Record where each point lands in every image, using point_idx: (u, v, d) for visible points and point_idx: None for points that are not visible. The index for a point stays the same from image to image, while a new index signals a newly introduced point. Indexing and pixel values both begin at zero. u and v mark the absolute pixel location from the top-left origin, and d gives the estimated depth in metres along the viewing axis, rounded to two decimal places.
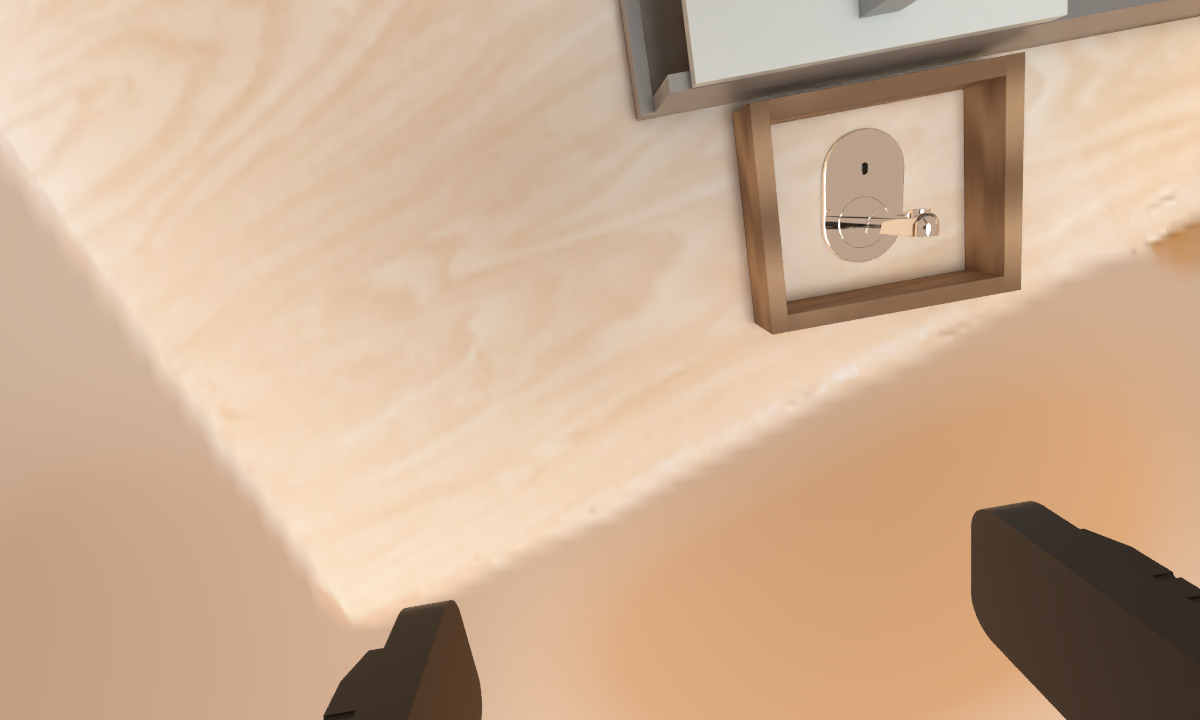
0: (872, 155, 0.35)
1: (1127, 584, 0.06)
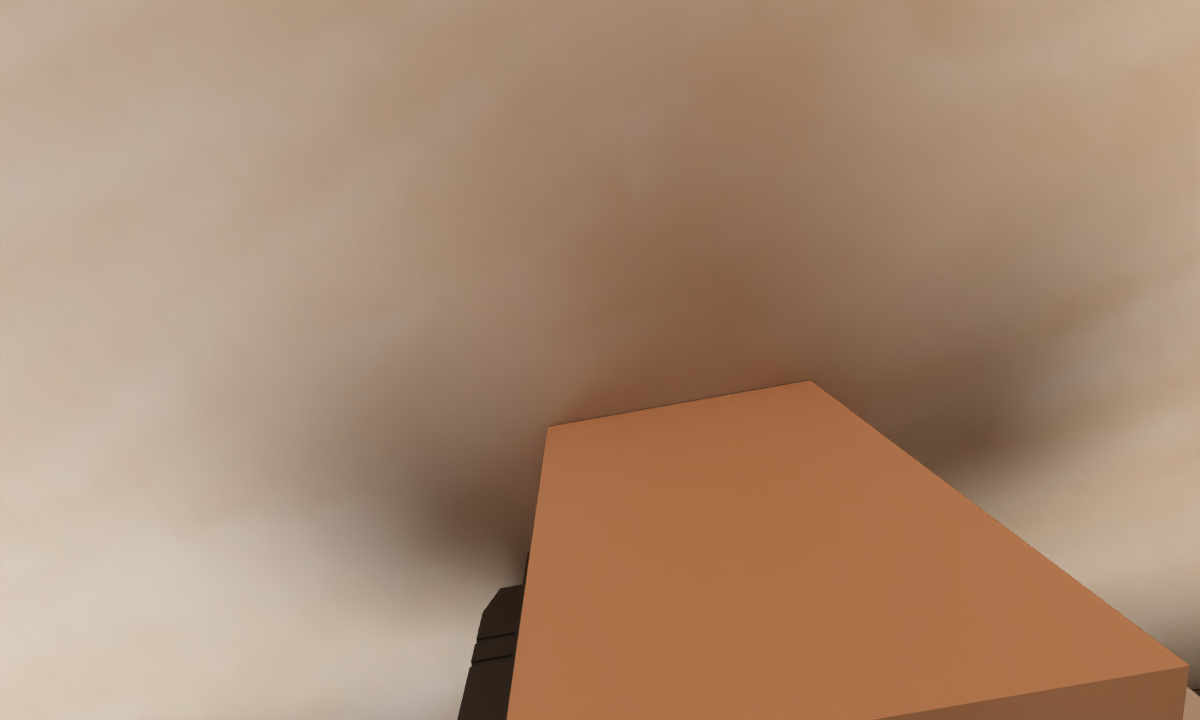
0: None
1: None
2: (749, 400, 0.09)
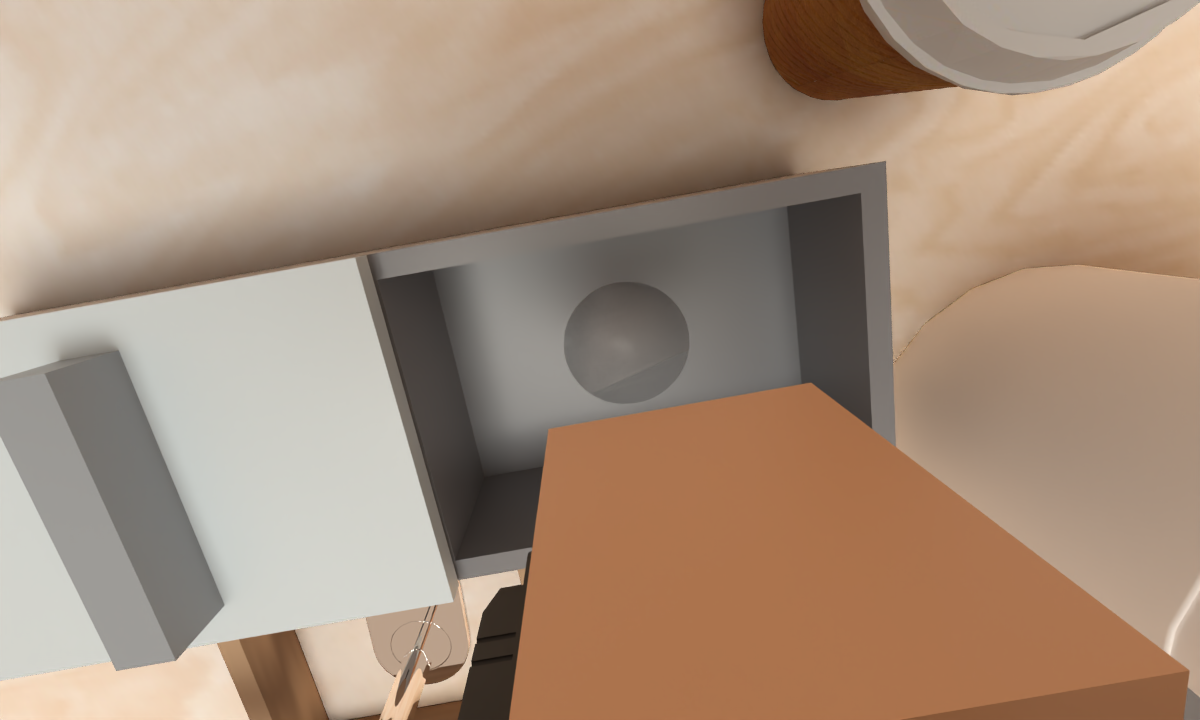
0: None
1: None
2: (748, 402, 0.09)
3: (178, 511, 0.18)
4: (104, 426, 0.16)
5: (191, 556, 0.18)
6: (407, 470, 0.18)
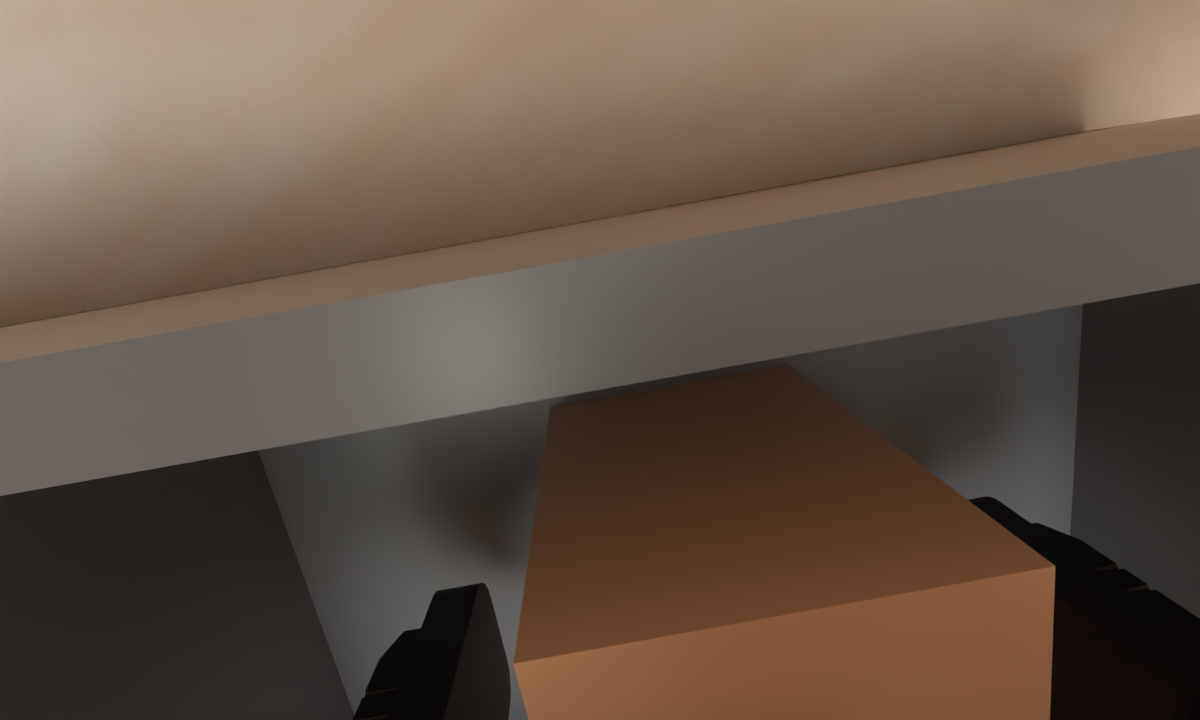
0: None
1: (1068, 574, 0.07)
2: (731, 381, 0.10)
3: None
4: None
5: None
6: None
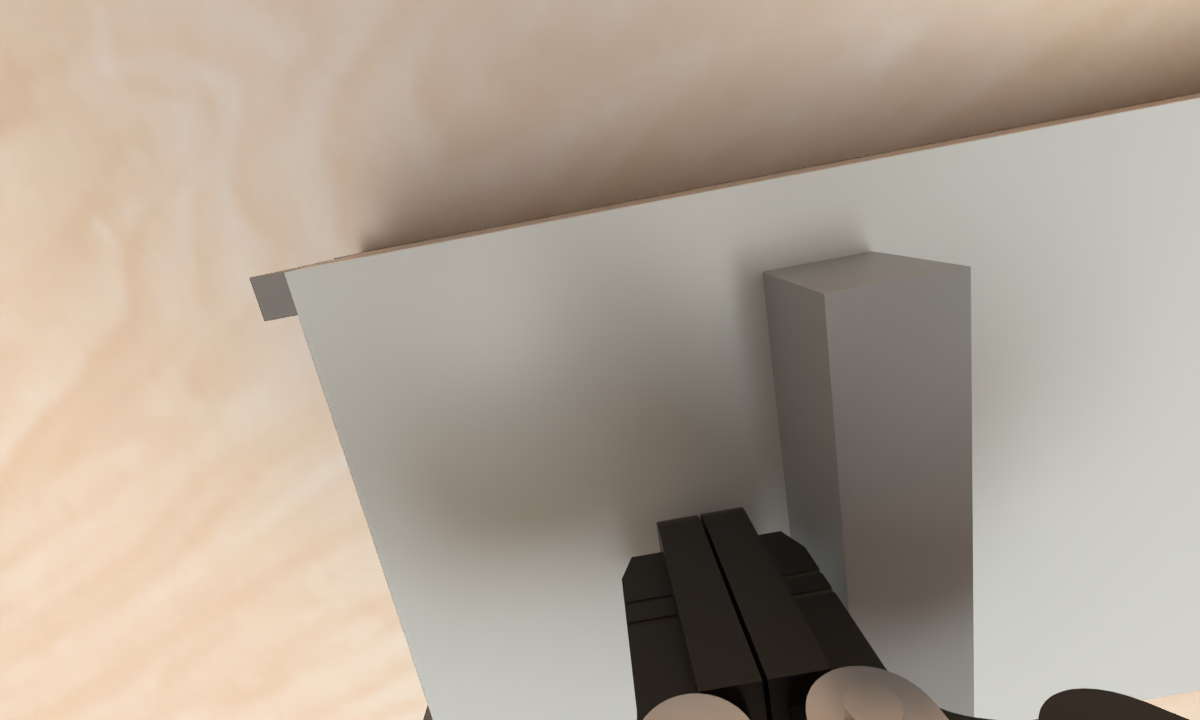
0: None
1: (754, 578, 0.07)
2: None
3: None
4: None
5: None
6: None
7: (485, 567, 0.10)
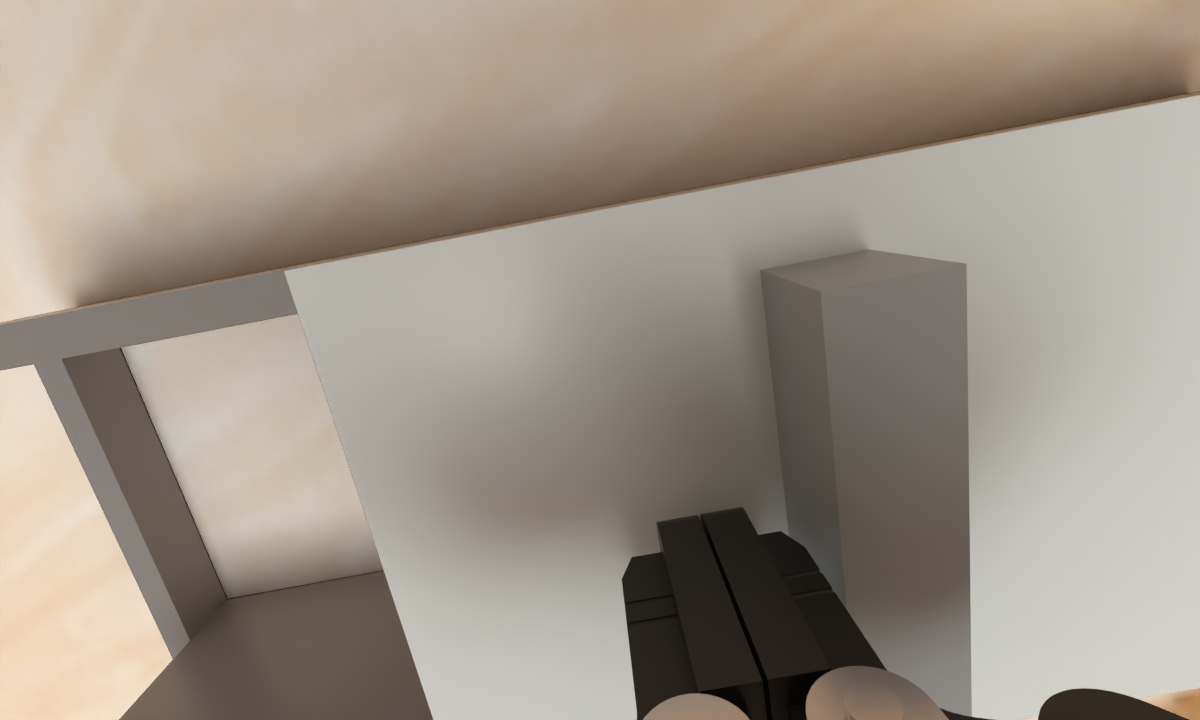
0: None
1: (755, 579, 0.07)
2: None
3: None
4: None
5: None
6: None
7: (484, 565, 0.10)
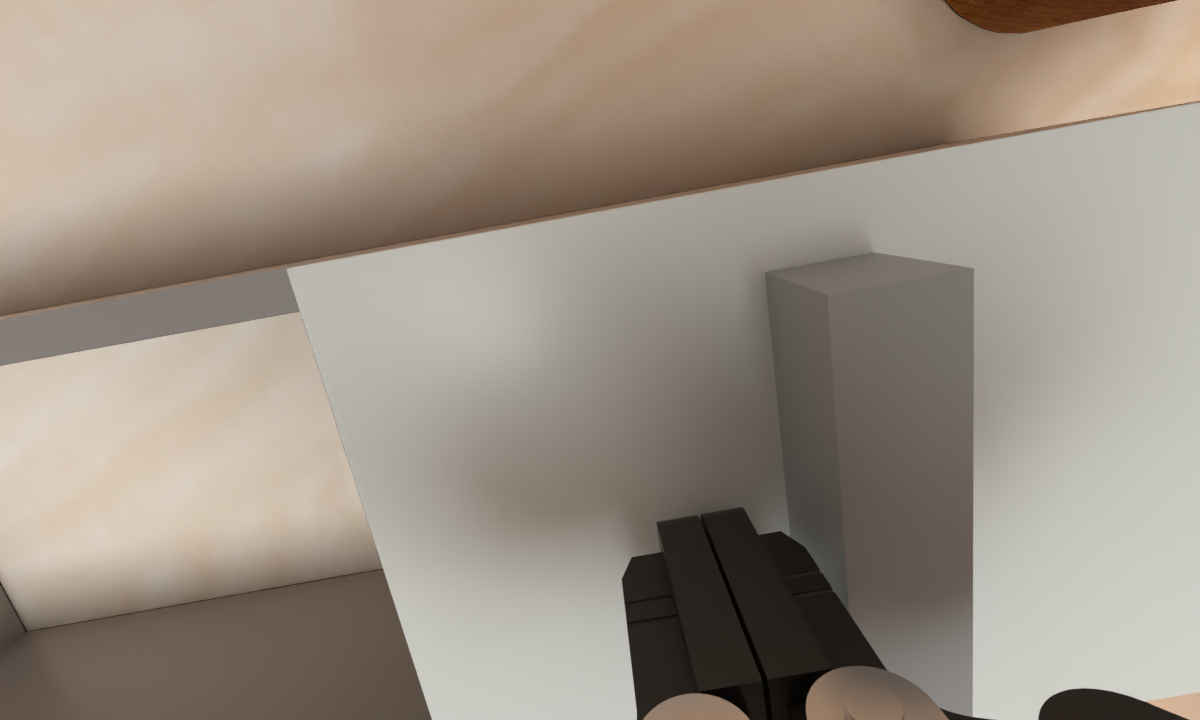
0: None
1: (755, 578, 0.07)
2: None
3: None
4: None
5: None
6: None
7: (485, 565, 0.10)
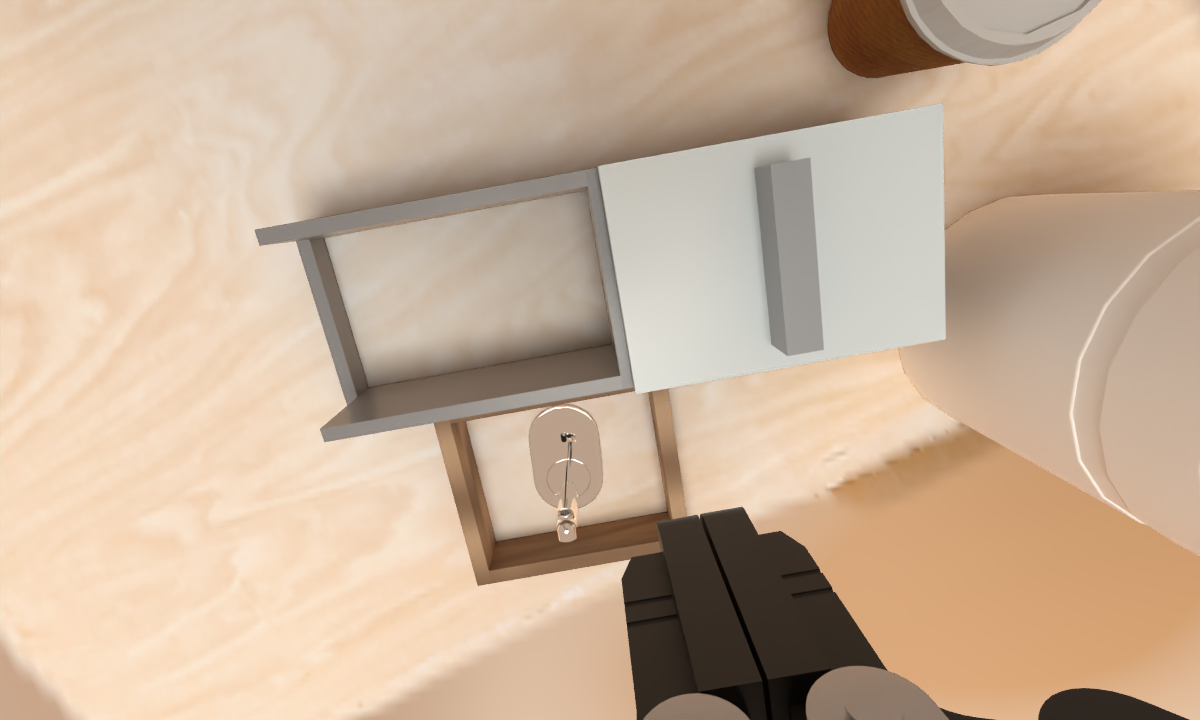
0: (569, 427, 0.40)
1: (755, 578, 0.07)
2: None
3: None
4: None
5: None
6: (939, 245, 0.29)
7: (653, 279, 0.29)
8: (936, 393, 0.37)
